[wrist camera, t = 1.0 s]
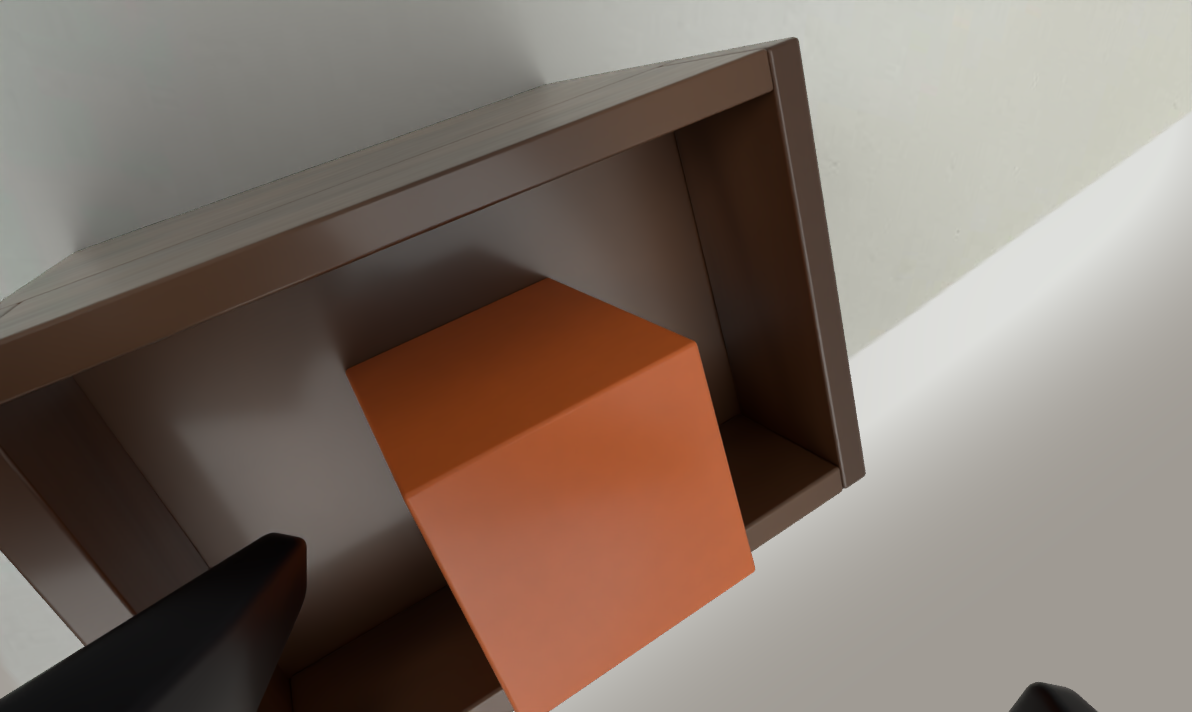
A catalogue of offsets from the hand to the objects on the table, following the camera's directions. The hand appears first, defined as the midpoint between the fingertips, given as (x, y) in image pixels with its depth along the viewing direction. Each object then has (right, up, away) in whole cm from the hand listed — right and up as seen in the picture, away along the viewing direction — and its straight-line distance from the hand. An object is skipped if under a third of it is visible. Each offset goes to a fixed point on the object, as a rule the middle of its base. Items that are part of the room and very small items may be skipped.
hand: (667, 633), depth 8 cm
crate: (-7, +5, +12) cm, 15 cm away
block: (-3, +2, +6) cm, 7 cm away
